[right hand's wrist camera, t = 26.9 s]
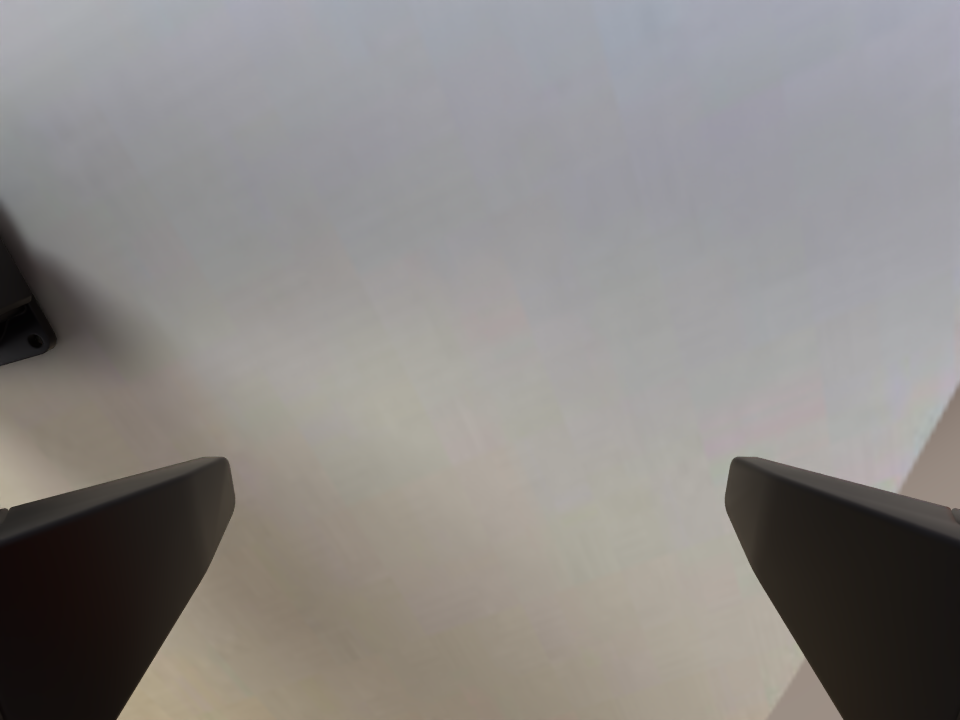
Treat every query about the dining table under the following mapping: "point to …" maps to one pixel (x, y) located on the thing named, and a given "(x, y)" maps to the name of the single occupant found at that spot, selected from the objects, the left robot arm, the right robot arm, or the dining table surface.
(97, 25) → the dining table surface
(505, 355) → the dining table surface
